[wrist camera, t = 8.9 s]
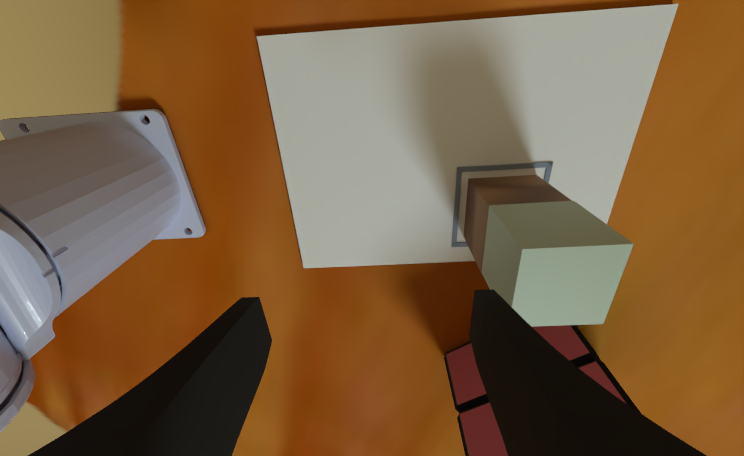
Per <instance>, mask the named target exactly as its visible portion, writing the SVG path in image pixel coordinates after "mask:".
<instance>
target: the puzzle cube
mask: <svg viewBox="0 0 744 456" xmlns="http://www.w3.org/2000/svg"><path fill="white" fill-rule="evenodd" d="M532 328H534V329H535V330H536V331H537V332H538V333H539V334H540V335H541V336H542V337H543V338H544V339H545V340H546V341H548V342H549V343H550V344H551V345H552V346H553V347H554V348H555V349H556V350H558V351H559V352H560V353H561V354H562V355H564V356H565V357H566V358H567V359H568V360H569V361H571V362H572V363H573V364H574V365H575V366H577V367H578V368H579V369H580V370H582V371H583V372H584V373H585V374H587V375H588V376H589V377H591V378H592V379H593V380H595V381H596V382H597V383H599V384H600V385H601V386H603V387H604V388H605V389H607V390H608V391H609V392H611V393H612V394H613V395H615V396H616V397H617V398H619V399H620V400H622V401H623V402H625V403H626V404H627V405H629V406H630V407H632V408H633V409H635V410H636V411H638V412H639V413H640V411H639V410H638V409H637V407H636V406H635V405H634V403H633V402H632V400H631V399H630V398H629V396H628V395H627V394H626V392H625V391H624V390H623V388H622V387H621V386H620V384H619V383H618V382H617V380H616V379H615V378H614V376H613V375H612V373H611V372H610V371H609V369H608V368H607V367H606V365H605V364H604V363H603V362H601V360H600V358H599V357H598V355H597V353H596V352H595V351H594V349H593V348H592V347H591V345H590V344H589V342H588V341H587V340H586V338H585V337H584V336H583V334H582V333H581V332H580V330H579V329H578V328H577V326H576V325H562V326H534V327H532ZM444 359H445V364H446V369H447V373H448V378H449V382H450V387H451V391H452V396H453V400H454V405H455V409H456V410H457V411H458V412H459V415H458V417H457V419H458V423H459V428H460V432H461V437H462V442H463V446H464V451H465V455H466V456H508V454H507V451H506V448H505V444H504V441H503V438H502V435H501V433H500V430H499V427H498V424H497V421H496V419H495V416H494V413H493V410H492V408H491V405H490V402H489V399H488V396H487V394H486V391H485V388H484V385H483V382H482V380H481V377H480V374H479V371H478V368H477V365H476V361H475V357H474V353H473V349H472V344H471V343H469V344H467V345H465V346H462V347H460V348H458V349H456V350H454V351H452V352H449V353H447V354H446V355H445V358H444Z"/></svg>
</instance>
